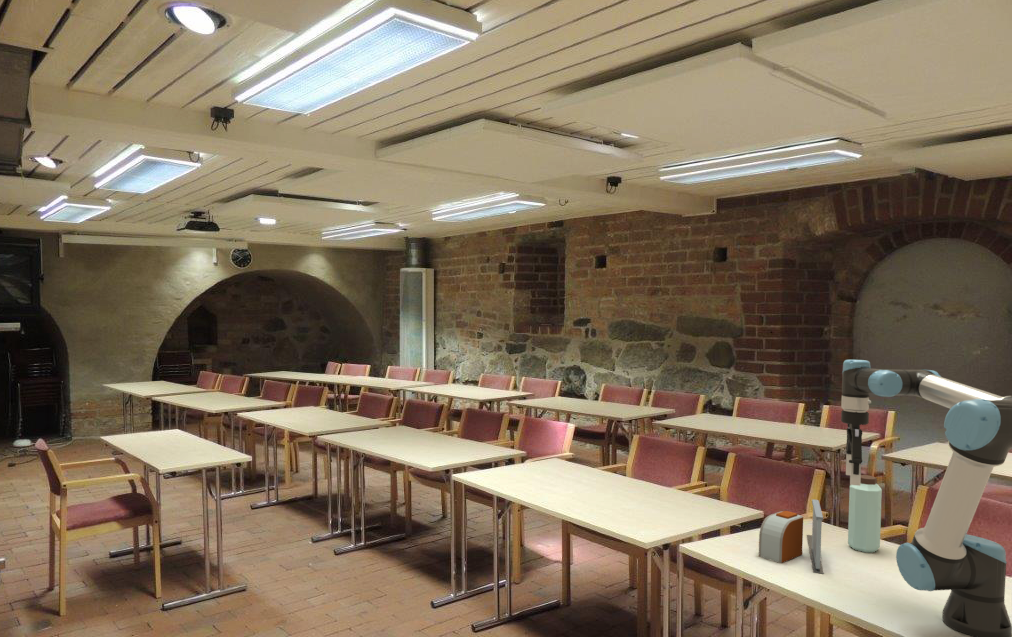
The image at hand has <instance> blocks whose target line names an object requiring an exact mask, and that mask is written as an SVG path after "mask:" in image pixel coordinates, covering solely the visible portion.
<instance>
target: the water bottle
mask: <svg viewBox="0 0 1012 637" xmlns="http://www.w3.org/2000/svg"><path fill="white" fill-rule="evenodd" d="M882 493H883V489H882V488H881V486H879V484H878V479H877V477H875V476H873V475H867V474H861V484H860V486H858V485H850V484H849V496H848V497H849V498H848V500H849V502H848V525H847V527H848V528H847V530H848V532H847V544H848V545H849V547H850V548H851V547H852V549H853V550H854V549H855V550H854V551H857V550H858V552H861V551H862V552H861V553H873V552H874V553H876V552H877V551H878V550H879V549H880V548H881V528H882V526H881V522H882V499H883V498H882V495H883V494H882ZM875 551H876V552H875Z"/></svg>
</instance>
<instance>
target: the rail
mask: <svg viewBox="0 0 1012 637" xmlns="http://www.w3.org/2000/svg"><path fill="white" fill-rule="evenodd" d="M806 540H807V547H808V551H809V552H808V553H809V555H810V556H809V557H810V562H811V568H812V573H815V574H822V575H823V574H825V573H824V569H823V563H822V559H821V558H822V557H820V569H816V566H815V561H814V556H813V551H812V534H806Z"/></svg>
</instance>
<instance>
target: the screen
mask: <svg viewBox="0 0 1012 637" xmlns="http://www.w3.org/2000/svg"><path fill="white" fill-rule="evenodd" d="M811 504H812V530H811V531H812V532H811V535H812V551H813V556H814V561H815V566H816V569H820V558H822V555H821V554H822V553H821V552H822V550H821V549H822V524H823V523H822V521H824V516H823V512H822V508H821V504H820V501H819V500H818V499H811Z"/></svg>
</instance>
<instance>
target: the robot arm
mask: <svg viewBox="0 0 1012 637" xmlns="http://www.w3.org/2000/svg"><path fill="white" fill-rule="evenodd" d="M841 374H842V377H841V378H842V379H841V380H842V381H841V404H840V405H841V406H840V407H841V409H842V410H841V415H840V417H841V418H840V421H841V422H842V423H843V424H846V425H847V428H846V445H845V451H846V457H845V458H846V462H845V475H846V476H849V486H850V485H858V486H860V484H861V475H862V463H863V453H862V452H863V451H862V449H863V447H862V445H863V444H862V442H863V437H862V436H863V430H862V429H861V426H866V425H868V424H870V423H869V421H870V420H869V418H870V415H869V414H870V413H869V412H868V411H869V410H870V404H872V400H870V394H871V395H875V396H878V397H882V398H883V397H885V398H892V397H894V396H915V397H918V398H920V399H924V400H926V401H930V402H932V403H934V404H937V405H939V406H941V407H944V408H947V409H949V410H948V412H947V413H946V415H945V418H944V421H943V422H944V423H943V428H944V429H945V431H944V434H945V438H946V440H947V441H948V446H949V448H950V450H951V451H952V454H951V457H950V460H949V461H948V465H947V467H946V470H945V473H944V476H943V478H942V481H941V484H940V486H939V487H938V488H939V489H938V491H937V494H936V495H935V496H936V497H935V499H934V502H933V505H932V507H931V509H930V513H929V515H928V518H927V521H926V523H925V525H924V527H920V528H918V529H917V530H916V531H915V532H914V535H913V538H912V540H911V542H904V543H902V544H900V545H899V546H898V547H897V549H896V554H895V555H896V556H895V558H896V559H895V560H896V564H897V565H896V566H897V567H898V571H899V573H900V575H901V577H902V579H903V580H904V581H905V582H906V583H907V584H908V586H910V587H911V588H913V589H915V590H917V591H926V592H934V591H950V593H949V596H948V598H947V600H946V602H945V605H944V606H943V609H942V617H941V620H942V621H943V622H944V624H946V626H948V627H950V628H951V629H953V630H955V631H958V633H959V632H960V633H963V634H965V635H968V636H972V637H1012V622H1011V619H1010V616H1009V613H1008V610H1007V607H1006V606H1007V605H1006V604H1005V603H1006V602H1005V596H1006V595H1005V593H1006V577H1007V576H1006V573H1007V563H1008V562H1007V552H1006V550H1005V548H1004V546H1003V545H1001V544H1000V543H997V542H996V541H993V540H990V539H988V538H983V537H979V536H976V535H972V534H968V531H969V528H970V526H971V523H972V522H973V519H974V517H975V514H976V512H977V509H978V506H979V504H980V503H981V502H980V501H981V499H982V497H983V494H984V492H985V489H986V486H987V485H988V482H989V480H990V476H991V474H992V472H993V470H994V467H998V466H1002V465H1004V463H1005V461H1006V459H1007V457H1008V454H1009V452H1010V450H1012V395H1006V396H1001V395H999V394H998V395H997V394H995V393H991V392H990V391H986V390H983V389H979V388H977V387H974V386H973V387H972V386H970V385H967V384H964V383H961V382H958V381H954V380H952V379H948V378H945V377H942V376H941V375H940V373H938V371H936V370H933V369H932V370H931V369H923V368H922V369H880V368H872V367H871V362H870V361H869V360H864V359H845V360H844V361H843V363H842V372H841Z"/></svg>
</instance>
